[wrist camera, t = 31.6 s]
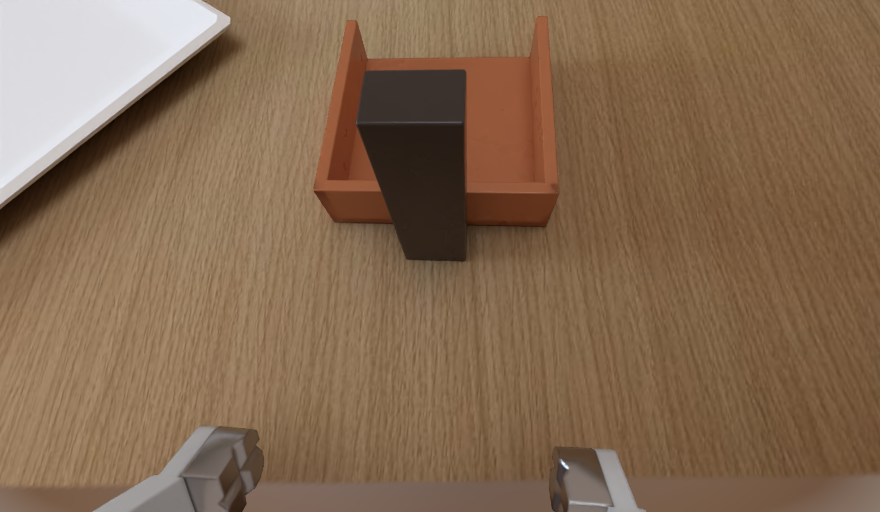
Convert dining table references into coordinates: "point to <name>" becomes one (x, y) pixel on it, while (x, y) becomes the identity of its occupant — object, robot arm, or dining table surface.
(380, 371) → the dining table surface
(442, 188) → the pan
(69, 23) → the plate
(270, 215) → the dining table surface
